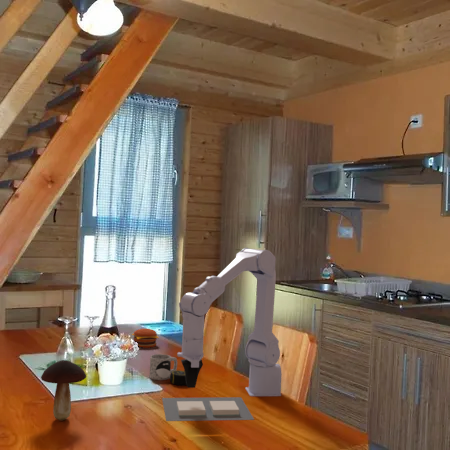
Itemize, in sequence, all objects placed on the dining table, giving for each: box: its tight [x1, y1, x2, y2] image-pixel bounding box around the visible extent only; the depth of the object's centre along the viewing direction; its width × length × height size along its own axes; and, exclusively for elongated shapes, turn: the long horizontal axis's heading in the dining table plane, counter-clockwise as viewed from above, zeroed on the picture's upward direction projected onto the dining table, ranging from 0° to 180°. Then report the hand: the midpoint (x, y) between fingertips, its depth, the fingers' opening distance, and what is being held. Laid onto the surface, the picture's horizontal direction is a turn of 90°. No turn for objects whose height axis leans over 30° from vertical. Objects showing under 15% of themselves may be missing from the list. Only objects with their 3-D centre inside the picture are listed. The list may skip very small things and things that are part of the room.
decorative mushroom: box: [40, 359, 87, 421], centre depth 145 cm, size 11×11×15 cm
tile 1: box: [209, 401, 239, 416], centre depth 156 cm, size 7×2×7 cm
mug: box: [149, 353, 178, 381], centre depth 187 cm, size 10×7×7 cm
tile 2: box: [177, 401, 206, 416], centre depth 154 cm, size 7×2×7 cm
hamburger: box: [131, 327, 160, 349], centre depth 228 cm, size 9×10×7 cm
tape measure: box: [169, 369, 187, 386], centre depth 180 cm, size 7×7×4 cm
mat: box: [161, 396, 255, 422], centre depth 157 cm, size 23×18×1 cm
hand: (190, 386), depth 157 cm, fingers closed
